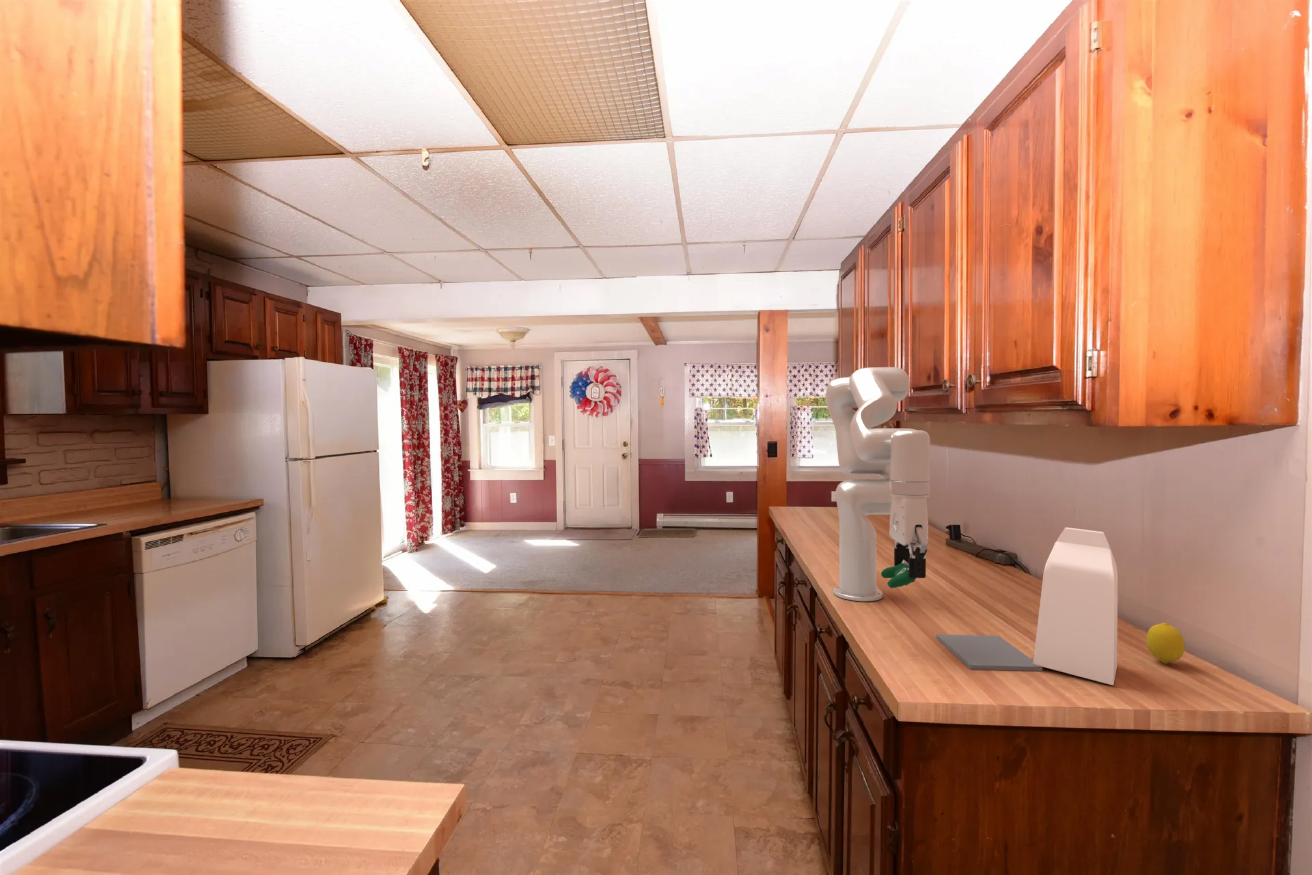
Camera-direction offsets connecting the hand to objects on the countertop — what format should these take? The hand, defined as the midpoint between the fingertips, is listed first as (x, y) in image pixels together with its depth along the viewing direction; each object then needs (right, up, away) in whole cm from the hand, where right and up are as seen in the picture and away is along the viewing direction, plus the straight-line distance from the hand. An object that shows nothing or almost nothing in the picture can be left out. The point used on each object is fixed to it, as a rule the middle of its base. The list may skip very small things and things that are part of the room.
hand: (909, 571), depth 121 cm
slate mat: (+14, -16, -4) cm, 21 cm away
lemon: (+45, -16, -9) cm, 49 cm away
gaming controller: (-2, -3, 0) cm, 3 cm away
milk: (+27, -16, -11) cm, 33 cm away
